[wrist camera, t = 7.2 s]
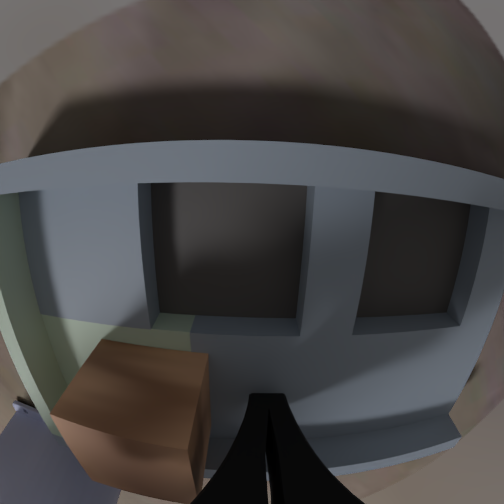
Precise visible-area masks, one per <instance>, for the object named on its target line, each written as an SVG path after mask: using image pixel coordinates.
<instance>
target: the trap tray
mask: <svg viewBox="0 0 504 504" xmlns="http://www.w3.org/2000/svg"><path fill="white" fill-rule="evenodd" d="M503 292H504V179H502V178H499V177H495V176H492V175H488V174H484V173H481V172H477V171H473V170H469V169H465V168H461V167H457V166H453V165H448V164H444V163H439V162H434V161H429V160H424V159H419V158H414V157H409V156H403V155H397V154H391V153H385V152H378V151H371V150H364V149H356V148H348V147H339V146H330V145H319V144H308V143H294V142H278V141H254V140H184V141H161V142H144V143H131V144H120V145H110V146H101V147H92V148H84V149H77V150H70V151H63V152H57V153H51V154H45V155H40V156H34V157H29V158H24V159H19V160H15V161H10V162H6V163H1V164H0V330H1V333H2V336H3V338H4V341H5V344H6V346H7V348H8V351H9V353H10V356H11V358H12V360H13V363H14V365H15V367H16V369H17V371H18V373H19V376H20V378H21V380H22V382H23V384H24V386H25V388H26V390H27V392H28V394H29V395H30V397H31V399H32V401H33V403H34V405H35V406H36V408H37V410H38V412H39V413H40V415H41V417H42V419H43V420H44V422H45V424H46V425H47V427H48V428H49V430H50V432H51V433H52V435H53V436H54V438H55V439H56V441H57V442H58V444H60V445H63V446H65V447H68V448H69V446H68V445H67V443H66V442H65V440H64V438H63V437H62V435H61V433H60V432H59V430H58V428H57V427H56V425H55V423H54V421H53V419H52V418H51V416H50V412H51V411H52V409H53V408H54V406H55V405H56V403H57V402H58V400H59V399H60V397H61V396H62V394H63V393H64V391H65V390H66V388H67V387H68V385H69V384H70V382H71V381H72V379H73V378H74V377H75V375H76V374H77V372H78V371H79V369H80V368H81V367H82V365H83V364H84V362H85V361H86V360H87V358H88V357H89V355H90V354H91V353H92V351H93V350H94V349H95V347H96V346H97V344H98V343H99V342H100V340H101V339H106V340H112V341H117V342H123V343H129V344H135V345H142V346H149V347H156V348H163V349H171V350H180V351H189V352H198V353H208V356H209V386H210V408H211V431H210V437H209V444H208V451H207V457H206V464H205V471H204V478H212V477H213V475H214V474H215V473H216V471H217V470H218V468H219V467H220V465H221V463H222V462H223V460H224V459H225V457H226V455H227V453H228V452H229V450H230V448H231V446H232V444H233V442H234V440H235V438H236V436H237V434H238V431H239V429H240V426H241V424H242V421H243V419H244V415H245V412H246V409H247V405H248V399H249V394H251V393H284V394H285V395H286V398H287V401H288V404H289V407H290V409H291V411H292V413H293V416H294V418H295V420H296V422H297V424H298V425H299V427H300V429H301V431H302V433H303V434H304V436H305V438H306V439H307V441H308V443H309V444H310V446H311V447H312V449H313V450H314V452H315V453H316V454H317V456H318V457H319V458H320V460H321V461H322V462H323V463H324V465H325V466H326V467H327V468H328V470H329V471H330V472H331V473H332V474H333V475H334V476H337V475H345V474H351V473H357V472H363V471H368V470H374V469H378V468H383V467H388V466H392V465H396V464H400V463H404V462H408V461H412V460H415V459H419V458H422V457H425V456H429V455H432V454H435V453H438V452H441V451H444V450H447V449H450V448H452V447H454V446H455V445H456V443H457V442H458V441H459V439H460V438H461V435H460V433H459V431H458V430H457V428H456V426H455V424H454V423H453V421H452V419H451V418H450V416H449V412H450V410H451V409H452V407H453V405H454V404H455V402H456V400H457V398H458V397H459V395H460V393H461V391H462V389H463V387H464V386H465V384H466V382H467V380H468V378H469V376H470V374H471V372H472V370H473V368H474V366H475V364H476V361H477V359H478V357H479V355H480V353H481V350H482V348H483V346H484V343H485V341H486V339H487V336H488V334H489V331H490V329H491V326H492V324H493V321H494V318H495V315H496V313H497V310H498V307H499V304H500V301H501V298H502V295H503ZM265 459H266V453H265ZM266 478H267V481H269V475H268V467H267V459H266Z"/></svg>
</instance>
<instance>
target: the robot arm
mask: <svg viewBox="0 0 504 504" xmlns="http://www.w3.org/2000/svg"><path fill="white" fill-rule="evenodd" d="M13 406H14V408H15V410H16V413H15V414H14V416H13V417H12V418H11V420H10V421H9V423H8V424H7V426H6V427H5V429H4V430H3V432H2V433H1V435H0V504H117V501H118V498H119V495H120V492H121V489H117V488H114V487H111V486H108V485H104V484H101V483H98V482H95V481H93V480H91V478H90V477H89V476H88V474H87V473H86V471H85V470H84V469H83V467H82V466H81V464H80V463H79V461H78V460H77V459H76V457H75V456H74V454H73V453H72V451H71V449H70V448H68V447H65V446H63V445H60V444H58V442H57V441H56V439H55V438H54V436H53V435H52V433H51V432H50V430H49V428H48V427H47V425H46V424H45V422H44V420H43V419H42V417H41V415H40V413H39V412H38V410H37V409H36V408H33V407H31V406H28V405H26V404H23V403H21V402H19V401H16V400H15V401H14V402H13ZM265 453H266V459H267V467H268V475H269V482H270V491H271V504H364V503H363V502H362V501H361V500H360V499H358V498H357V497H356V496H355V495H353V494H352V493H351V492H350V491H349V490H348V489H347V488H346V487H345V486H344V485H343V484H342V483H341V482H340V481H339V480H338V479H337V478H336V477H335V476H334V475H333V474H332V473H331V472H330V471H329V470H328V468H327V467H326V466H325V465H324V463H323V462H322V461H321V460H320V458H319V457H318V456H317V454H316V453H315V452H314V450H313V449H312V447H311V446H310V444H309V443H308V441H307V439H306V438H305V436H304V434H303V433H302V431H301V429H300V427H299V425H298V424H297V422H296V420H295V418H294V416H293V413H292V411H291V409H290V407H289V404H288V401H287V398H286V395H285V394H284V393H251V394H249V399H248V405H247V409H246V412H245V415H244V419H243V421H242V424H241V426H240V429H239V431H238V434H237V436H236V438H235V440H234V442H233V444H232V446H231V448H230V450H229V452H228V453H227V455H226V457H225V459H224V460H223V462H222V463H221V465H220V467H219V468H218V470H217V471H216V473H215V474H214V475H213V477H212V478H211V479H210V481H209V482H208V483H207V485H206V486H205V487H204V488H203V490H202V491H201V492H200V493H199V494H198V495H197V496H196V497H195V499H194V500H193V501H192V502H191V503H190V504H268V494H267V478H266V459H265Z"/></svg>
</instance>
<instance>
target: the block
mask: <svg viewBox="0 0 504 504" xmlns="http://www.w3.org/2000/svg"><path fill="white" fill-rule="evenodd" d="M50 416H51V418H52V419H53V421H54V423H55V425H56V427H57V428H58V430H59V432H60V433H61V435H62V437H63V438H64V440H65V442H66V443H67V445H68V446H69V448H70V449H71V451H72V453H73V454H74V456H75V457H76V459H77V460H78V461H79V463H80V464H81V466H82V467H83V469H84V470H85V471H86V473H87V474H88V476H89V477H90V478H91V480H93V481H95V482H98V483H101V484H104V485H108V486H111V487H114V488H117V489H121V490H124V491H128V492H132V493H136V494H140V495H144V496H148V497H152V498H157V499H162V500H167V501H172V502H178V503H184V504H190V503H191V502H192V501H193V500H194V499H195V497H196V496H197V495H198V494H199V493H200V492H201V491H202V484H203V478H204V471H205V464H206V457H207V451H208V444H209V437H210V431H211V408H210V386H209V356H208V353H198V352H189V351H180V350H171V349H163V348H156V347H149V346H142V345H135V344H129V343H123V342H117V341H112V340H106V339H101V340H100V342H99V343H98V344H97V346H96V347H95V349H94V350H93V351H92V353H91V354H90V355H89V357H88V358H87V360H86V361H85V362H84V364H83V365H82V367H81V368H80V369H79V371H78V372H77V374H76V375H75V377H74V378H73V379H72V381H71V382H70V384H69V385H68V387H67V388H66V390H65V391H64V393H63V394H62V396H61V397H60V399H59V400H58V402H57V403H56V405H55V406H54V408H53V409H52V411H51V412H50Z"/></svg>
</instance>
